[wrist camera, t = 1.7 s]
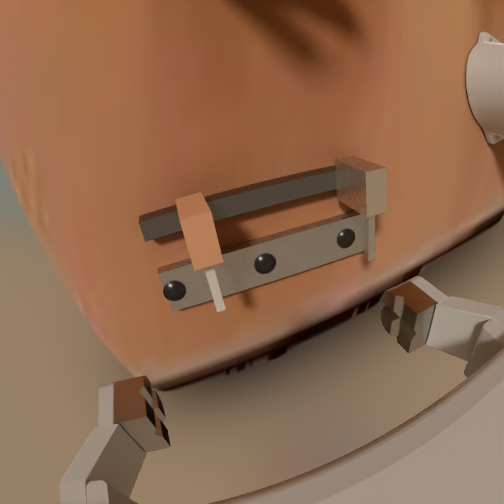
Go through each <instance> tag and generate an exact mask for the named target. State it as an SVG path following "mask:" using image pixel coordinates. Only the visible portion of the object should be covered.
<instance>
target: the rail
mask: <svg viewBox="0 0 504 504" xmlns="http://www.w3.org/2000/svg"><path fill="white" fill-rule="evenodd" d="M335 189H337V198H338V200H339V201H341V202H342V203H344V204H346V205H347V206H349V207H350V208H352V209H354V210H355V211H357V212H358V213H360V214H362V215H363V216H364V258H365V259H366V260H367V261H371V260H374V254H375V215H378V214H381V213H384V212H387V179H386V167H383V166H381V165H378V164H375V163H373V162H370V161H367V160H364V159H362V158H359V157H356V156H351V157H345V158H340V159H335V165H334V166H330V167H325V168H320V169H316V170H311V171H306V172H302V173H298V174H293V175H289V176H284V177H280V178H276V179H272V180H268V181H264V182H259V183H255V184H251V185H247V186H244V187H240V188H236V189H232V190H228V191H224V192H221V193H217V194H213V195H209V196H206V197H204V199H205V201H206V202H207V204H208V206H209V208H210V210H211V213H212V217H213V221H217V220H221V219H224V218H228V217H232V216H235V215H239V214H242V213H246V212H250V211H253V210H257V209H261V208H265V207H268V206H272V205H276V204H280V203H284V202H287V201H291V200H295V199H299V198H303V197H307V196H311V195H315V194H319V193H323V192H327V191H331V190H335ZM139 224H140V227H141V230H142V233H143V236H144V239H145V242H146V241H149V240H152V239H156V238H159V237H162V236H166V235H169V234H172V233H176V232H179V231H182V227H181V224H180V220H179V215H178V211H177V206H176V205H174V206H171V207H167V208H164V209H160V210H157V211H154V212H151V213H147V214H144V215H141V216H140V218H139Z"/></svg>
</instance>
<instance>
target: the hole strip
mask: <svg viewBox="0 0 504 504" xmlns="http://www.w3.org/2000/svg"><path fill="white" fill-rule="evenodd" d="M362 251H364V216H363V215H362V214H360V213H358V212H357V211H353V212H349V213H346V214H342V215H339V216H335V217H332V218H328V219H325V220H321V221H318V222H314V223H311V224H307V225H304V226H300V227H297V228H293V229H290V230H286V231H283V232H279V233H276V234H272V235H269V236H265V237H262V238H258V239H255V240H251V241H248V242H245V243H241V244H238V245H234V246H231V247H227V248H224V249H221V254H222V258H223V263H219V264H216V265H213V266H214V270H215V273H216V277H217V280H218V284H219V288H220V291H221V295H222V297H224V296H227V295H230V294H233V293H237V292H240V291H243V290H246V289H249V288H253V287H256V286H259V285H262V284H265V283H268V282H272V281H275V280H278V279H281V278H284V277H287V276H290V275H293V274H296V273H299V272H302V271H305V270H308V269H312V268H315V267H318V266H321V265H324V264H327V263H329V262H332V261H335V260H338V259H341V258H344V257H347V256H350V255H353V254H356V253H359V252H362ZM158 275H159V278H160V280H161V283H162V285H163V288H164V289H163V293H164V296H165V297H166V298H167V299H168V301H169V303H170V306H171V308H172V311H177V310H180V309H184V308H187V307H190V306H194V305H197V304H200V303H204V302H207V301H210V300H213V297H212V293H211V290H210V287H209V283H208V280H207V277H206V273H205V270H204V268H202V269H199V270H196V271H195V270H194V267H193V264H192V261H191V258H190V259H187V260H183V261H180V262H177V263H173V264H170V265H167V266H163V267H160V268H158Z"/></svg>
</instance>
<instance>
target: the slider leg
mask: <svg viewBox="0 0 504 504" xmlns="http://www.w3.org/2000/svg"><path fill="white" fill-rule="evenodd" d="M175 201H176V206H177V211H178V215H179V220H180V224H181V227H182V231H183V234H184V237H185V241H186V244H187V248H188V251H189V254H190V257H191V261H192V264H193V267H194V270H195V271H196V270H199V269H202V268H204V270H205V273H206V277H207V280H208V283H209V287H210V290H211V293H212V297H213V300H214V303H215V306H216V309H217V312H220V311H223V310H226V309H225V305H224V302H223V298H222V295H221V291H220V288H219V284H218V280H217V277H216V273H215V270H214V266H213V265H216V264H219V263H223V258H222V254H221V250H220V246H219V242H218V238H217V234H216V230H215V225H214V221H213V217H212V213H211V210H210V208H209V206H208V204H207V202H206V201H205V199H204V197H203V195H202V193H201V192H200V193H196V194H192V195H189V196H185V197H182V198H178V199H175Z"/></svg>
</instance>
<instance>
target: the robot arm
mask: <svg viewBox="0 0 504 504" xmlns="http://www.w3.org/2000/svg"><path fill="white" fill-rule="evenodd" d="M466 86H467V94H468V99H469V103H470V107H471V110H472V112H473V115H474V117H475V119H476V120H477V122H478V123H479V125H480V126H481V127H482V129H483V130H484V133H485V137H486V139H487V142H488V143H490V144H495V143H497V142H499V141H501V140H503V139H504V43H501V42H499V41H498V40H497V39H495V38H494V37H493V36H491V35H490V34H489V33H487V32H481V33H480V35H479V39H478V43H477V45H476V46H475V47H474V48H473V50H472V51H471V53H470V55H469V58H468V62H467V68H466ZM383 302H384V303H385V306H384V307H383V309H382V311H381V320H382V324H383V326H384V328H385V330H386V331H387V332H388V333H389V334H390V335H394V336H397V342H398V343H399V344H400V345H401V346H402V347H403V348H404V349H405V350H406V351H407V352H408V353H410V352H412V351H414V350H415V349H417V348H419V347H421V346H422V345H424V344H426V345H428V346H430V347H433V348H435V349H438V350H441V351H443V352H446V353H448V354H451V355H453V356H456V357H458V358H461V359H464V360H466V361H468V364H467V366H466V368H465V370H464V374H465V376H466V377H467V379H466V380H464V381H463V382H462V383H461V384H459V385H458V386H457V387H455V388H454V389H453V390H452V391H450V392H449V393H447V394H446V395H444V396H443V397H442V398H440V399H439V400H438V401H436V402H435V403H433V404H432V405H430V406H429V407H428V408H426V409H424V410H423V411H421V412H420V413H418V414H417V415H416V416H414V417H412V418H411V419H409V420H407V421H406V422H404V423H403V424H401V425H399V426H398V427H396V428H394V429H393V430H391V431H389V432H387V433H386V434H384V435H382V436H380V437H379V438H377V439H375V440H374V441H372V442H370V443H368V444H366V445H364V446H362V447H360V448H358V449H356V450H354V451H352V452H350V453H348V454H346V455H344V456H342V457H340V458H338V459H336V460H333V461H331V462H329V463H327V464H325V465H322V466H320V467H318V468H316V469H313V470H311V471H308V472H306V473H303V474H301V475H298V476H296V477H293V478H291V479H288V480H285V481H283V482H280V483H277V484H274V485H271V486H268V487H265V488H262V489H259V490H256V491H253V492H250V493H246V494H243V495H239V496H236V497H232V498H229V499H225V500H221V501H217V502H213V503H209V504H504V308H503V307H499V306H494V305H490V304H485V303H481V302H476V301H472V300H467V299H462V298H458V297H453V296H450V297H447V296H446V295H444V294H443V293H442V292H441V291H439V290H438V289H437V288H435V287H434V286H433V285H431V284H430V283H429V282H427V281H426V280H425V279H423V278H422V277H419V276H416V277H414V278H412V279H410V280H408V281H406V282H404V283H402V284H399V285H397V286H395V287H393V288H391V289H389V290H387V291H385V293H384V294H383ZM165 419H166V417H165V412H164V408H163V405H162V402H161V400H160V398H159V396H158V394H157V392H156V391H154V390H152V389H151V383H150V381H149V380H148V378H147V376H140V377H136V378H131V379H126V380H122V381H117V382H114V383H109V384H104V385H101V386H100V388H99V405H98V427H97V428H94V429H93V430H92V432H91V434H90V435H89V437H88V438H87V440H86V441H85V443H84V445H83V446H82V448H81V449H80V451H79V452H78V454H77V455H76V457H75V459H74V460H73V462H72V463H71V465H70V467H69V468H68V470H67V471H66V473H65V475H64V476H63V478H62V480H61V481H60V504H138V503H136V502H134V501H133V500H131V499H130V498H129V497H130V495H131V492H132V490H133V487H134V484H135V482H136V479H137V477H138V474H139V471H140V469H141V467H142V464H143V461H144V459H145V456H146V452H151V451H155V450H159V449H163V448H167V447H170V440H169V434H168V429H167V428H166V427H165V425H164V424H163V422H164V420H165Z"/></svg>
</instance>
